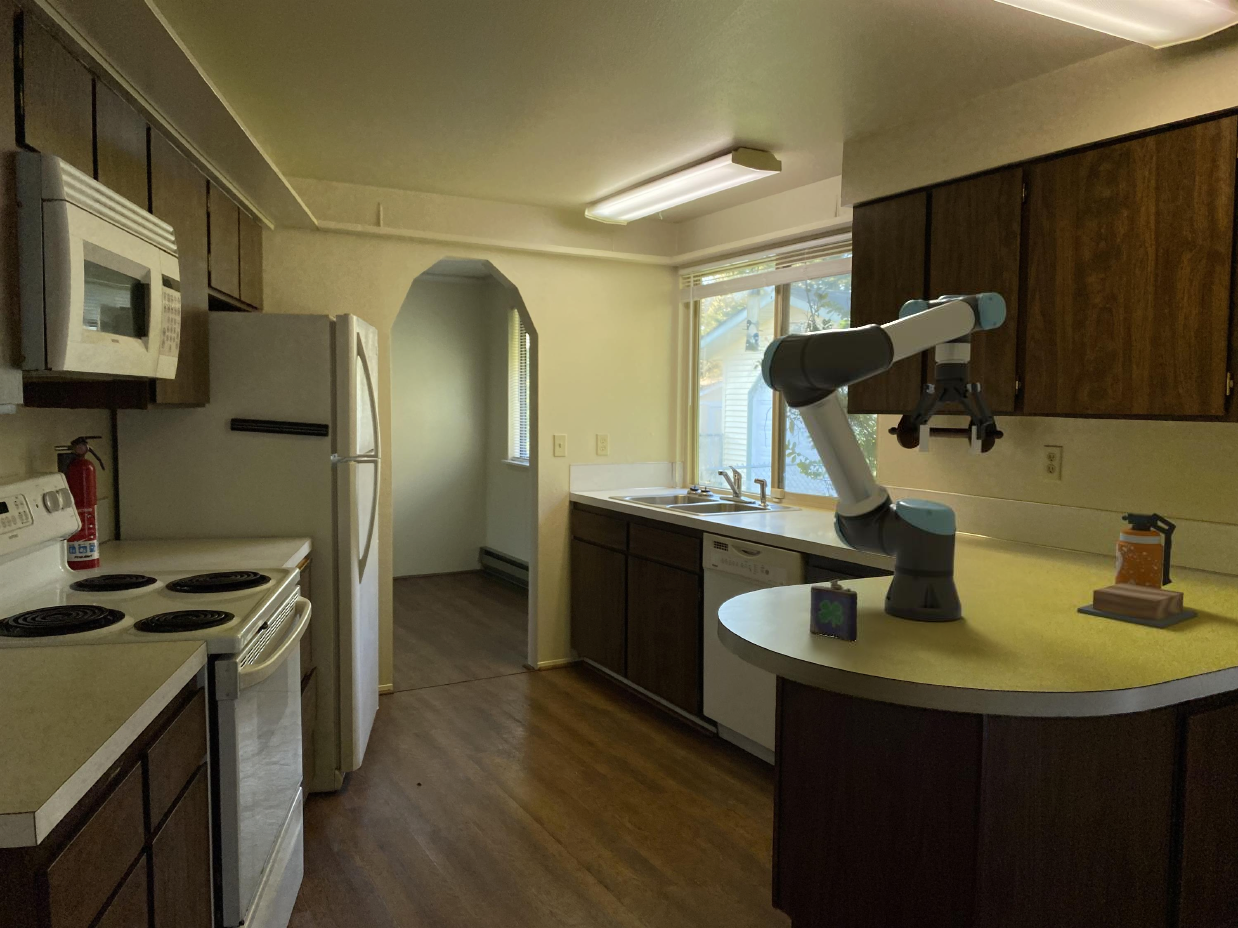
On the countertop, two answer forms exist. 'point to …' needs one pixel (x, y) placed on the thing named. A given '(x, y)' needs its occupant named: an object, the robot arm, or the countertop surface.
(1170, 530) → the canister
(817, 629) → the flask
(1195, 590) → the countertop surface
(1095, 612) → the mat
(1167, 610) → the wooden block
